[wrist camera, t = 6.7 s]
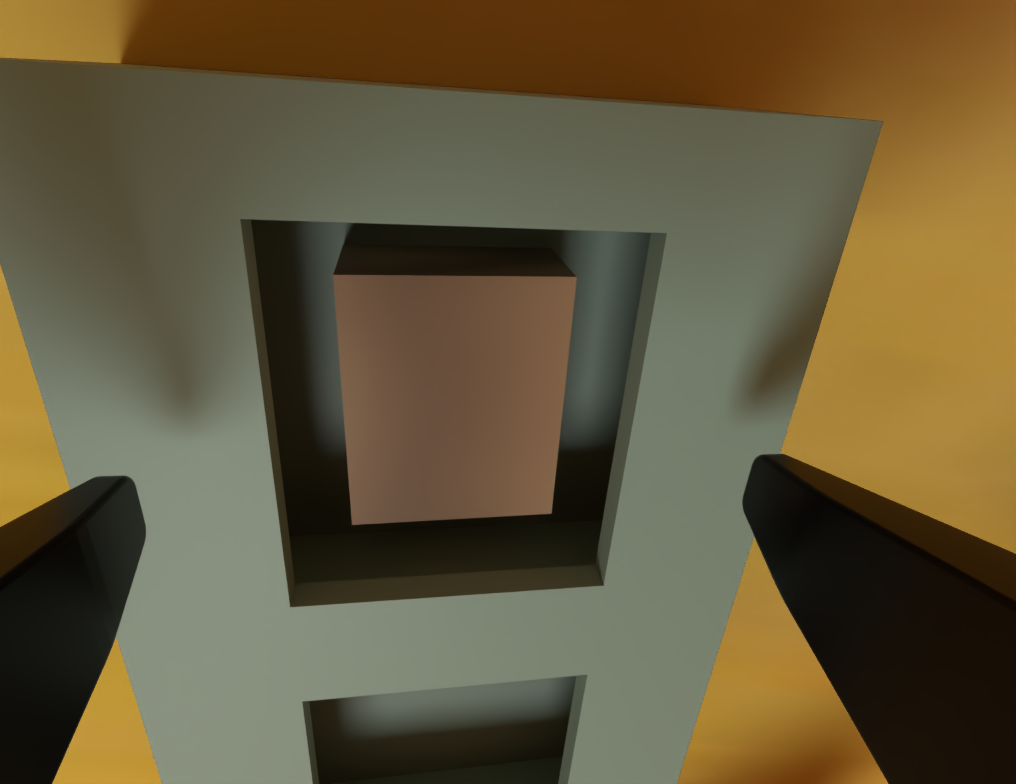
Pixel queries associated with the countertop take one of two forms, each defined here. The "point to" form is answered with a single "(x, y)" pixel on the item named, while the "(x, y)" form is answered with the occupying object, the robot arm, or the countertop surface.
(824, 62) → the countertop surface
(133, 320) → the grey holed block
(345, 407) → the walnut tile
